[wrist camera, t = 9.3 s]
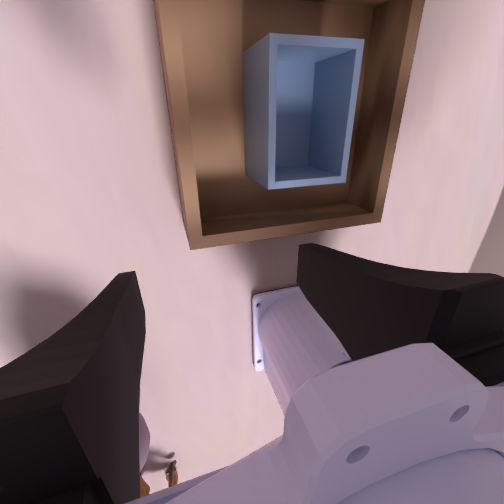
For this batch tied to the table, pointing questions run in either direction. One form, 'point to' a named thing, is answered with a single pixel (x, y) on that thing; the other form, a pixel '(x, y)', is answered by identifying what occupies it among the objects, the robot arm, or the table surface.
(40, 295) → the table surface
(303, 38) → the blue crate
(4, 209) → the table surface
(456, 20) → the table surface
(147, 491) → the lion figurine
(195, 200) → the tray
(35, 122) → the table surface
